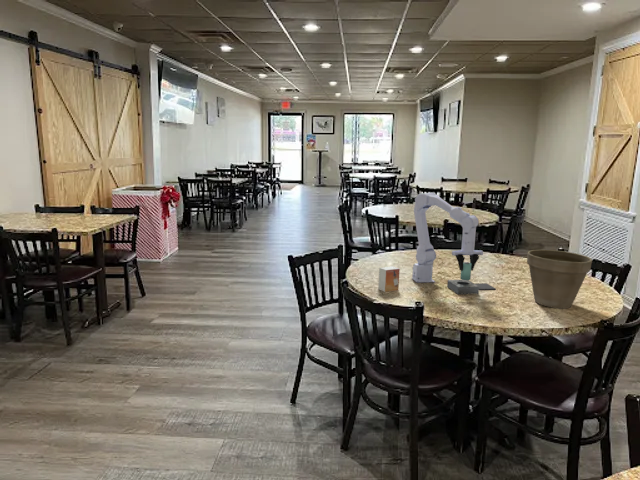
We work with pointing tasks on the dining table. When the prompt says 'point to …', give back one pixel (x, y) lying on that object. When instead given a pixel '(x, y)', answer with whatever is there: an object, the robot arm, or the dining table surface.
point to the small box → (388, 279)
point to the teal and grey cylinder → (466, 271)
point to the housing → (463, 287)
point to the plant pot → (557, 276)
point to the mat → (485, 286)
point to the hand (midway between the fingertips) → (466, 270)
